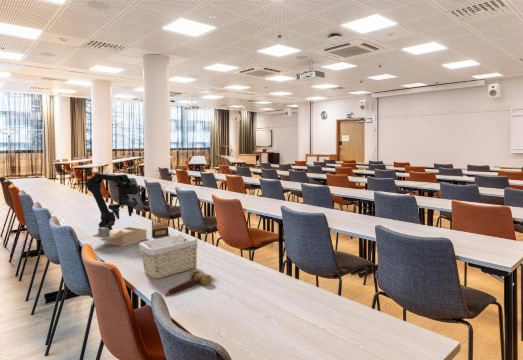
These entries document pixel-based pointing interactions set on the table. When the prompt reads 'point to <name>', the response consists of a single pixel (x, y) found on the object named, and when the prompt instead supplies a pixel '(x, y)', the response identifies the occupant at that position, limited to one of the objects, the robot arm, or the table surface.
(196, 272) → the gavel
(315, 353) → the table surface
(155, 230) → the ammunition clip
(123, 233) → the mailer lid
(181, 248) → the storage basket
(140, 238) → the mailer box
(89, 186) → the robot arm
